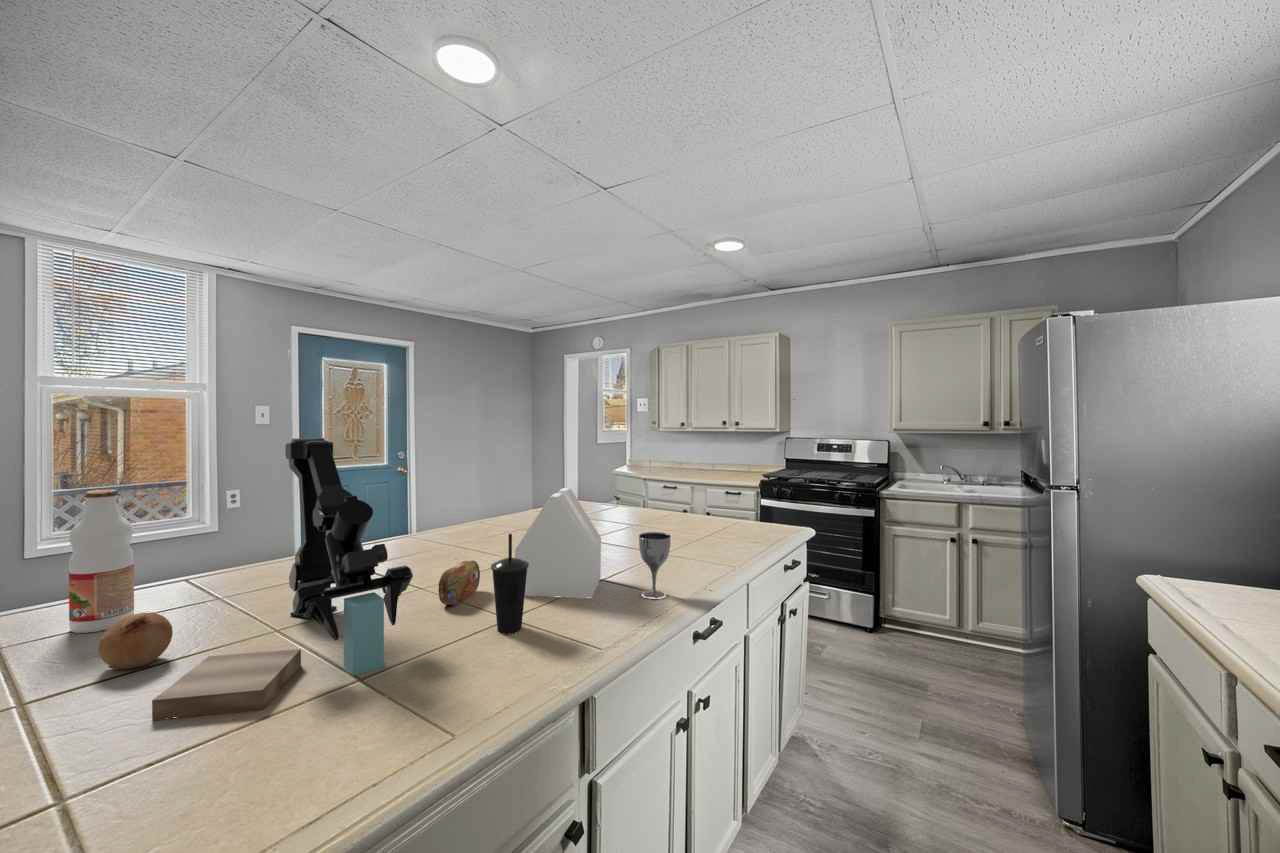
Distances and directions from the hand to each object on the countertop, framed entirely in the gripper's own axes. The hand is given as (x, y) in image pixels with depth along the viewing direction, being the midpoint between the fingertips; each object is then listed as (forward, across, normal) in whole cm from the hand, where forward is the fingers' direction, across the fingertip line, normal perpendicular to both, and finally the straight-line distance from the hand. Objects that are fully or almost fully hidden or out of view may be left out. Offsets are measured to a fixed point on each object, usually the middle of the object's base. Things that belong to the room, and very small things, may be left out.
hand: (366, 631), depth 91 cm
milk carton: (-4, +51, +14) cm, 53 cm away
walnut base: (0, -18, +9) cm, 20 cm away
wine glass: (+11, +64, -1) cm, 65 cm away
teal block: (+4, 0, +6) cm, 7 cm away
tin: (-10, +28, +20) cm, 36 cm away
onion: (-16, -28, +26) cm, 41 cm away
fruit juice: (-36, -33, +45) cm, 67 cm away
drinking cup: (+6, +27, +3) cm, 28 cm away
